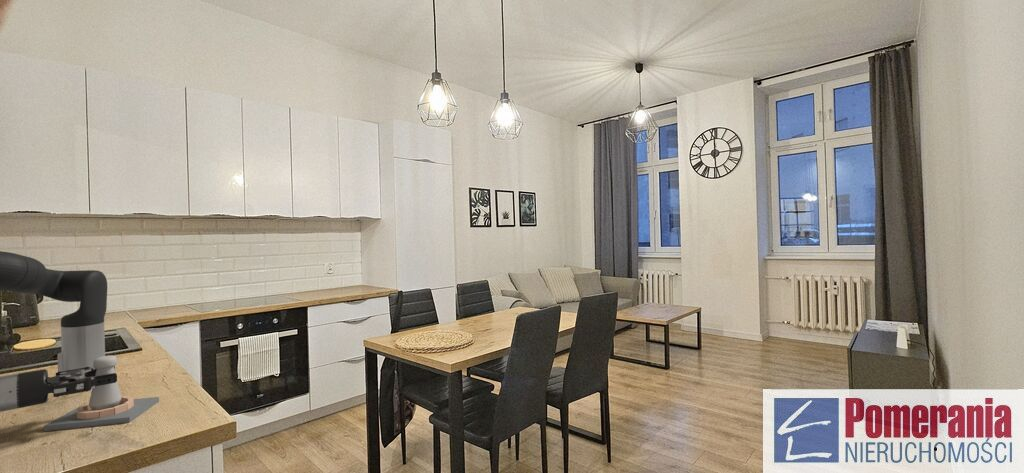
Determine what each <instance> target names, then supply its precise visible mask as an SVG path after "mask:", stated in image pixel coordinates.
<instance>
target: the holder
mask: <svg viewBox="0 0 1024 473" xmlns="http://www.w3.org/2000/svg"><path fill="white" fill-rule="evenodd" d="M159 402H160V397H159V396H154V397H153V396H151V397H144V398H134V397H133V396H128V395H121V401H120V403H119V405H118V406H115V407H112V408H108V409H103V410H96V411H92V409H91V408H90V406H89V402H88V403H84V404H81V405H80V406H77V407H76V408H74V409H72V410H71V411H68V412H67V413H65V414H63V415H61V416H60V417H58V418H56V419H55V420H52V421H51V422H50V421H49V423H47V424H45V425H44V426H43V427H44V428H43V429H44V432H50V431H59V430H61V431H62V430H67V429H77V428H78V429H79V428H88V427H97V426H108V425H119V424H126V423H128V424H129V423H131V422H132V421H133V420H135V419H137V418H138V417H139V416H140V415H142V414H143V413H145V412H146V411H148V410H149V409H151V408H152V407H154V406H155V405H156V404H158V403H159Z"/></svg>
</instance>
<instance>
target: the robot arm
mask: <svg viewBox="0 0 1024 473" xmlns="http://www.w3.org/2000/svg"><path fill="white" fill-rule="evenodd" d="M107 280H108V279H107V278H106V275H105V274H104V272H102V271H100V270H94V269H93V270H92V269H91V270H89V269H88V270H87V269H86V270H56V269H50V268H47V267H46V266H45V265H44V263H42V262H41V261H40V260H38V259H36V258H33V257H31V256H27V255H22V254H18V253H14V252H9V251H1V250H0V291H5V292H12V293H18V294H19V293H20V294H33V295H34V294H35V295H39V296H43V297H46V298H50V299H53V300H56V301H60V302H65V303H66V302H67V303H73V302H74V303H76V302H78V303H80V304H79V308H78V309H77V310H76V311H74V312H72V313H69V314H65V315H64V316H62V317H61V318H60V338H61V340H60V341H61V343H60V344H61V346H60V348H61V349H60V350H61V351H60V352H59V353H57V372H55V375H53V376H51V377H49V374H48V369H38V370H31V371H24V372H19V373H18V372H17V373H12V374H6V375H1V376H0V413H2V412H6V411H13V410H17V409H23V408H26V407H27V408H28V407H33V406H37V405H42V404H46V403H47V402H48V400H49V394H53V398H58V397H63V396H68V395H74V394H78V393H85V392H86V393H87V392H90V391H92V388H95V386H101V385H106V384H111V383H116V382H118V374H117V373H116V372H115V373H111V374H106V375H100V376H95V375H96V370H97V369H96V368H94V367H93V362H94V360H95V359H96V358H99V357H102V356H106V343H105V342H106V341H105V340H106V339H105V334H106V333H105V316H106V313H107V308H108V307H107V306H108V302H107V300H108V281H107ZM114 369H115V370H116V365H115V366H114Z"/></svg>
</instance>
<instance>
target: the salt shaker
mask: <svg viewBox="0 0 1024 473" xmlns="http://www.w3.org/2000/svg"><path fill="white" fill-rule="evenodd" d="M117 364H118V357H117V356H116V355H105V356H102V357H99V358H96V359H95V360H94V362H93V367H94V368H96V369H97V370H96V375H95V376H100V375H106V374H111V373H116V368H115V369H114V366H115V367H116V366H117ZM121 396H122V394H121V389H120V386H119V381H117V382H116V383H111V384H106V385H101V386H95V388H92V389H91V393H90V397H89V402H88V403H89V406H90V408H91V409H92V411H96V410H103V409H108V408H112V407H115V406H118V405H119V403H120V401H121Z"/></svg>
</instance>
